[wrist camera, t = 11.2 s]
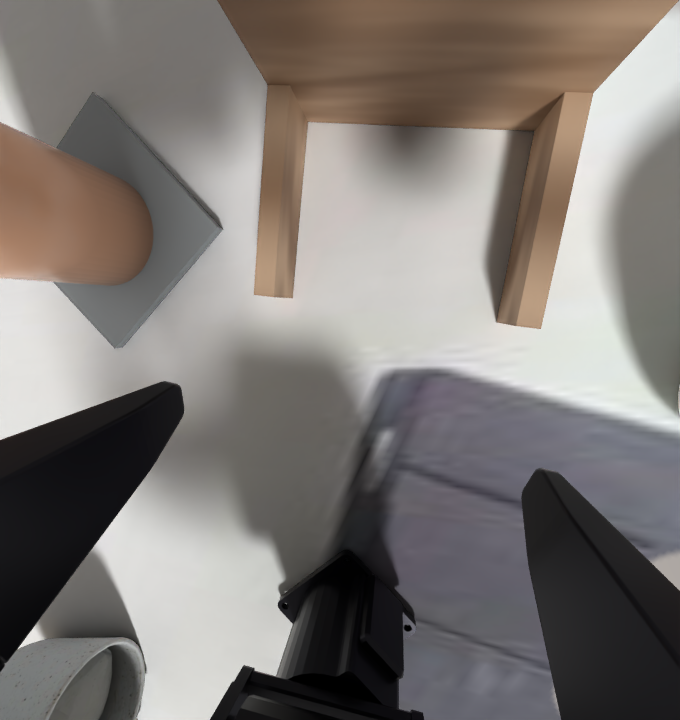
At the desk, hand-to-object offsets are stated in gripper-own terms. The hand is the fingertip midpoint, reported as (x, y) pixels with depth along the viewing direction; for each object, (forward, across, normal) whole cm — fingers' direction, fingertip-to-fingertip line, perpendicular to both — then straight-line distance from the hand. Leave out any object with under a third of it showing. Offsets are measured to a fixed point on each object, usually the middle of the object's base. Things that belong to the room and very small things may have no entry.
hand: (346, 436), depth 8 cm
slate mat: (+12, +17, 0) cm, 21 cm away
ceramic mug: (+1, +15, +30) cm, 34 cm away
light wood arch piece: (+13, 0, -4) cm, 13 cm away
